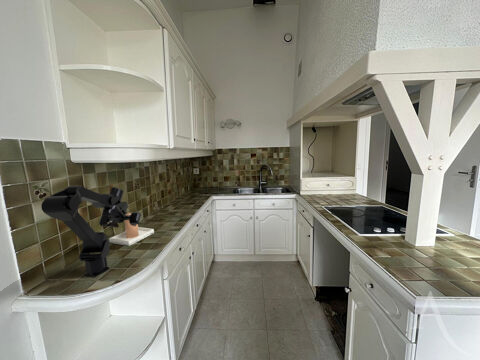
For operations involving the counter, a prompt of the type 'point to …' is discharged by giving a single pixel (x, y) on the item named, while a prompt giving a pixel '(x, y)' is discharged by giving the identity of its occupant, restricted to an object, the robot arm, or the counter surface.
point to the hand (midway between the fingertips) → (127, 226)
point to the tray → (123, 240)
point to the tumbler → (131, 229)
